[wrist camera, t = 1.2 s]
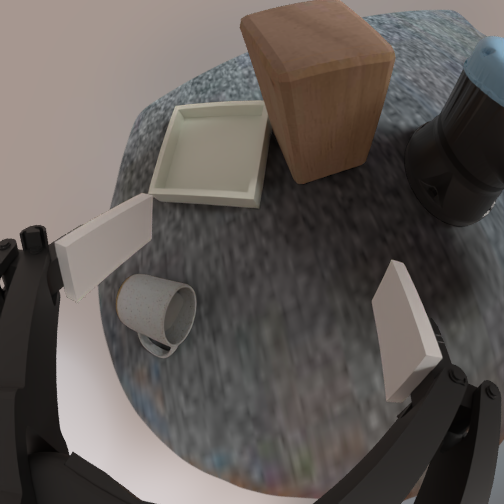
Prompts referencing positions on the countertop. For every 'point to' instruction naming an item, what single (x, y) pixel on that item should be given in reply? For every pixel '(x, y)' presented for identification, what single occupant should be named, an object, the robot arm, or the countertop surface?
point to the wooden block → (319, 83)
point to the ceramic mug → (157, 311)
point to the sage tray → (214, 155)
